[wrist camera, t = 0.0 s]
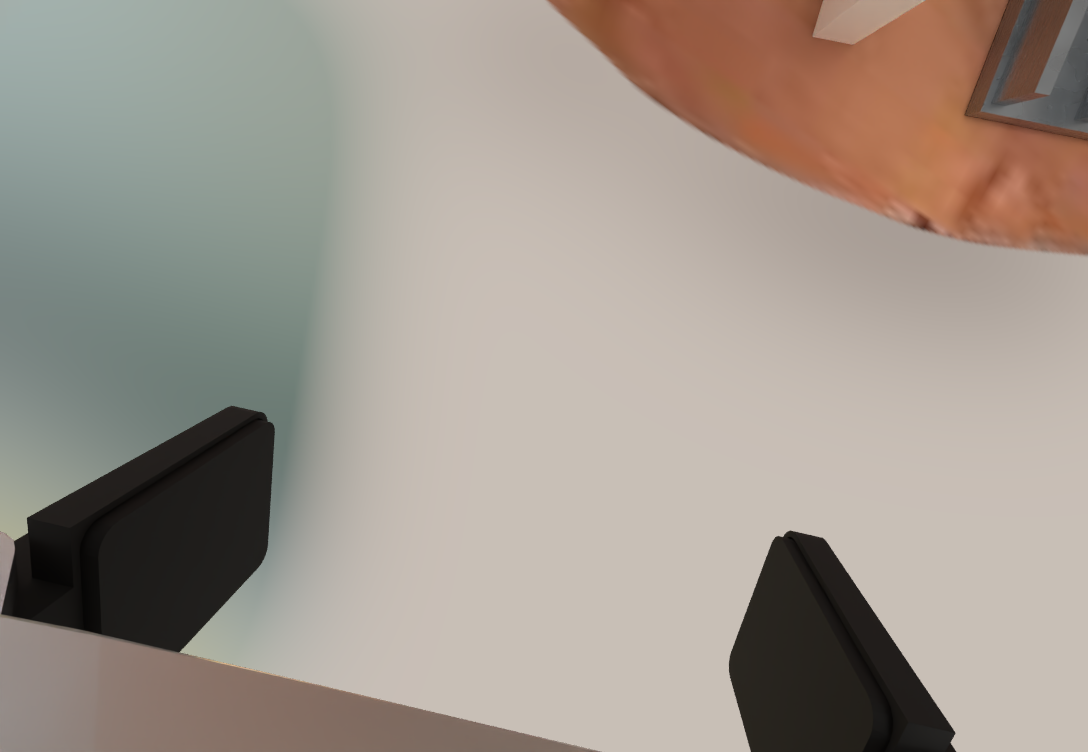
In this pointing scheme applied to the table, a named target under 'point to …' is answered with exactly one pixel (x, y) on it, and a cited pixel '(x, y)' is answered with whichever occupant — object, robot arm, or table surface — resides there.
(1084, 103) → the rack
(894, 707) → the robot arm
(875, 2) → the white flat block
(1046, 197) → the table surface
